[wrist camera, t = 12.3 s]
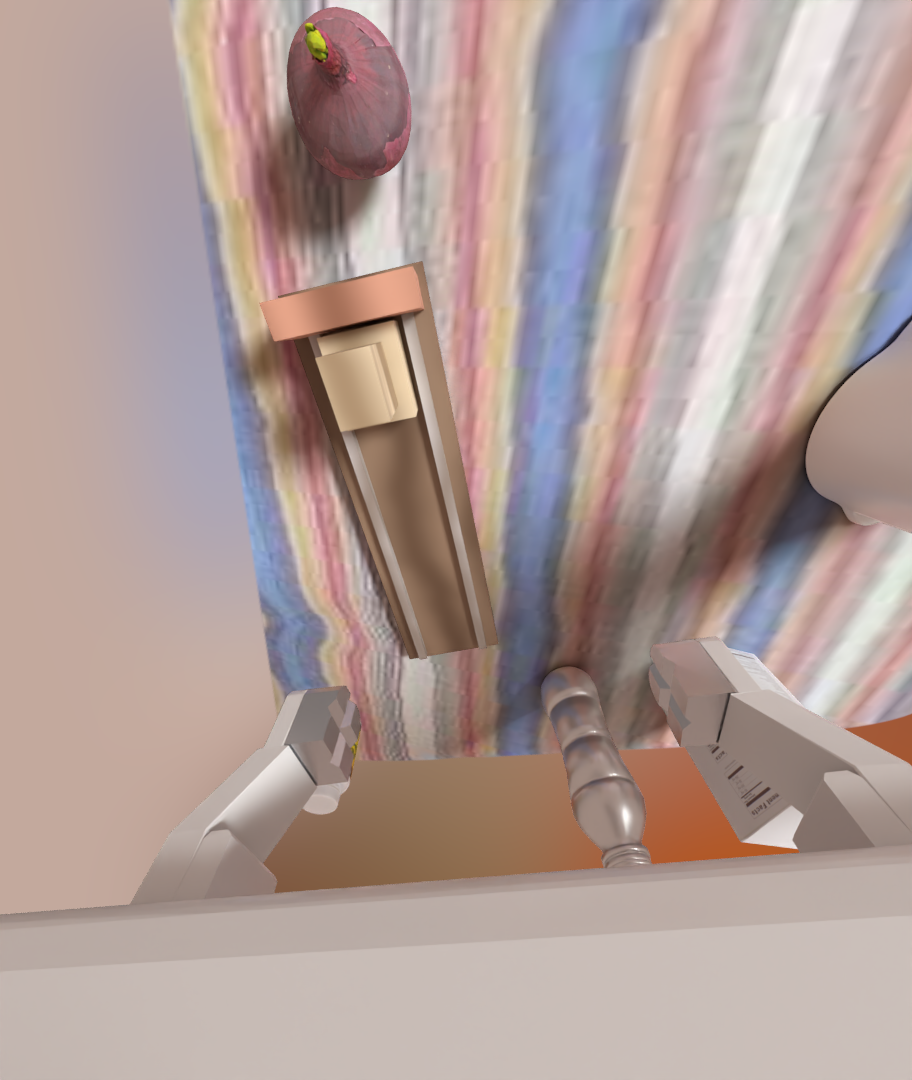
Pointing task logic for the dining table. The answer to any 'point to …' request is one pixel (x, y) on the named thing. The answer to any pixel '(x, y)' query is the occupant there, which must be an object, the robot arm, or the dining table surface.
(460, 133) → the dining table surface
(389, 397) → the block
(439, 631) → the rail board
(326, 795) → the supplement bottle
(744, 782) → the supplement box
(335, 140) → the vegetable
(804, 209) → the dining table surface
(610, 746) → the plastic bottle
